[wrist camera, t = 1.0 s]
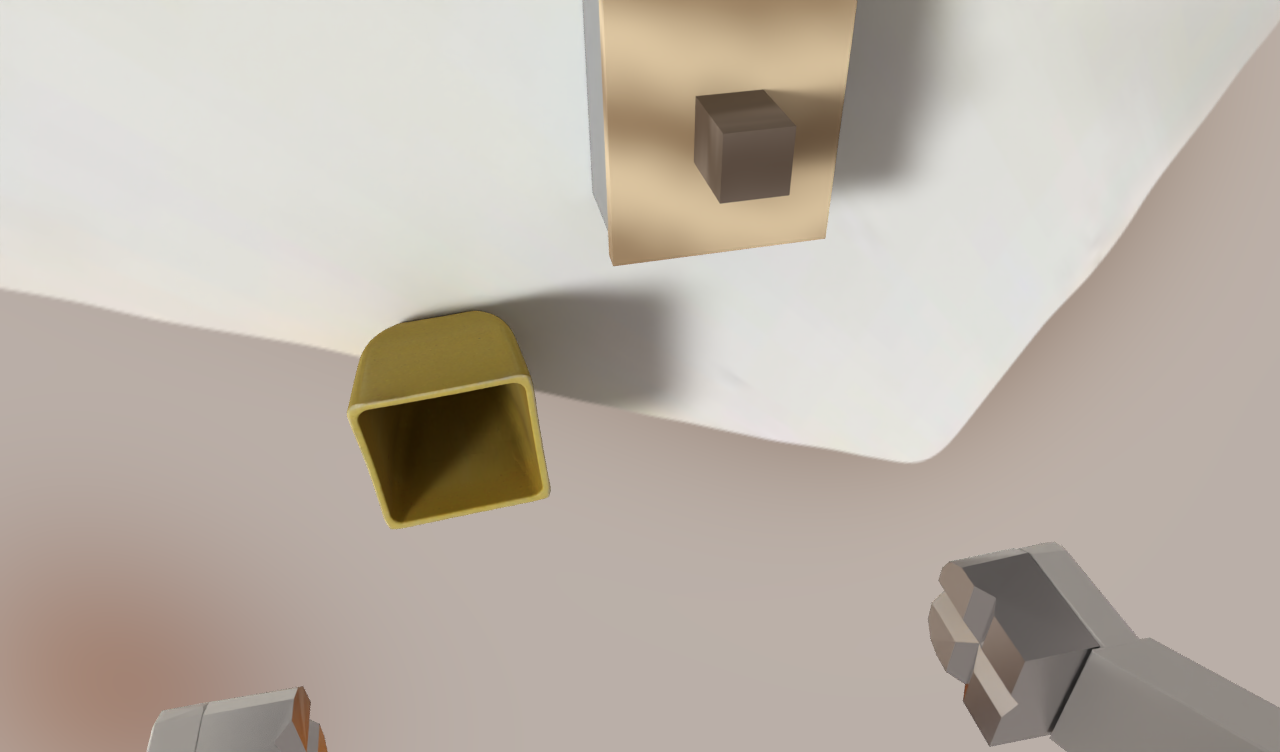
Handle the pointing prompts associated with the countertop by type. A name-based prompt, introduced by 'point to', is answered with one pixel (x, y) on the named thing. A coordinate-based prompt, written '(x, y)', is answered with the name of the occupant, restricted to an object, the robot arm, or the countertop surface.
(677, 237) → the lid
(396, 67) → the countertop surface
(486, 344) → the flower pot
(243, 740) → the robot arm
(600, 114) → the box
